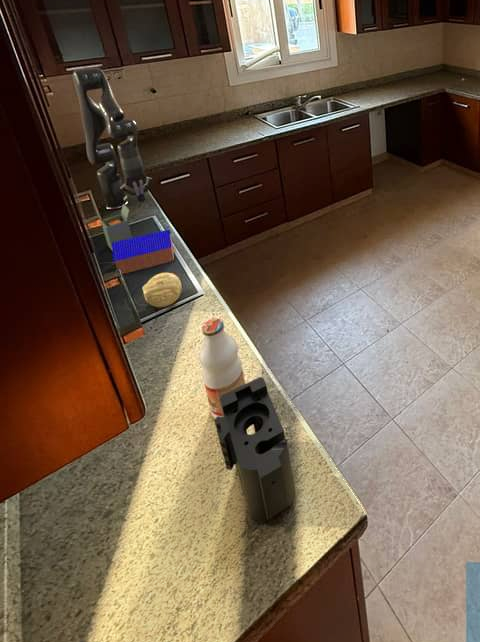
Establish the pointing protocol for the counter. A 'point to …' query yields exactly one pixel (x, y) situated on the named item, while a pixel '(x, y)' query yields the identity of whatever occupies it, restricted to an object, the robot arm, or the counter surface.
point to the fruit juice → (219, 364)
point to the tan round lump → (162, 289)
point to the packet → (114, 222)
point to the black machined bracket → (256, 449)
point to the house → (143, 251)
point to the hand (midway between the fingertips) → (141, 201)
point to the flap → (125, 211)
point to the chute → (116, 230)
